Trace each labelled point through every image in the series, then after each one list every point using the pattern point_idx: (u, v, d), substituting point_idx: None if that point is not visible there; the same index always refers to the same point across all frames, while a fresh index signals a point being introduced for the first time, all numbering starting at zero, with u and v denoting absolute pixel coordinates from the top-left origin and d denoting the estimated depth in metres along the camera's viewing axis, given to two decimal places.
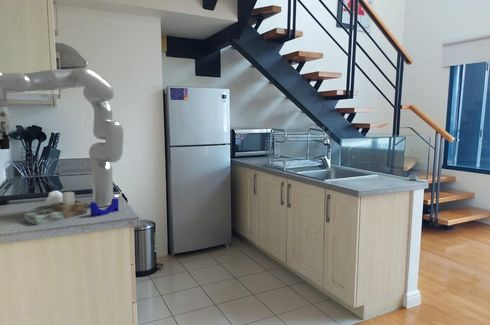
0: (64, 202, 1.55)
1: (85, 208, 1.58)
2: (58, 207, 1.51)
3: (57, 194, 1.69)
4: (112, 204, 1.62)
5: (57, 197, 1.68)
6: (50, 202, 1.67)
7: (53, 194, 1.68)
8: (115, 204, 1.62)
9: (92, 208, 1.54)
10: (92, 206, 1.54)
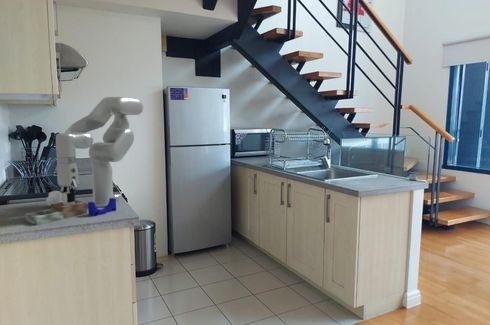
0: (64, 202, 1.55)
1: (85, 208, 1.58)
2: (58, 207, 1.51)
3: (57, 194, 1.69)
4: (109, 203, 1.63)
5: (57, 197, 1.68)
6: (50, 202, 1.67)
7: (53, 194, 1.68)
8: (113, 204, 1.62)
9: (90, 208, 1.55)
10: (90, 206, 1.55)
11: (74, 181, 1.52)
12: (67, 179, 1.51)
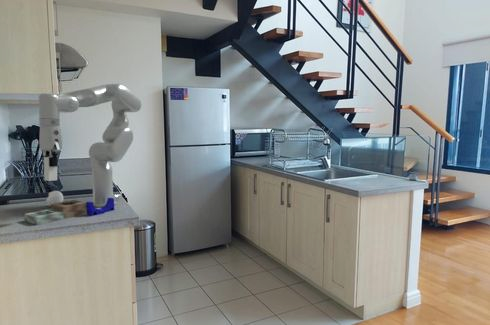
0: (46, 167, 1.47)
1: (85, 208, 1.58)
2: (58, 207, 1.51)
3: (57, 194, 1.69)
4: (108, 203, 1.63)
5: (57, 197, 1.68)
6: (50, 202, 1.67)
7: (53, 194, 1.68)
8: (111, 203, 1.63)
9: (88, 208, 1.55)
10: (88, 205, 1.55)
11: (57, 144, 1.44)
12: (49, 141, 1.43)
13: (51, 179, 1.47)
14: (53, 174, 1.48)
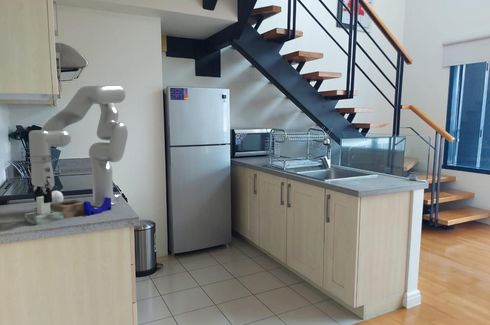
0: (38, 207, 1.45)
1: None
2: (58, 207, 1.51)
3: (57, 194, 1.69)
4: (105, 202, 1.64)
5: (57, 197, 1.68)
6: (50, 202, 1.67)
7: (53, 194, 1.68)
8: (108, 203, 1.64)
9: (86, 207, 1.56)
10: (86, 205, 1.56)
11: (49, 180, 1.42)
12: (41, 179, 1.41)
13: None
14: None
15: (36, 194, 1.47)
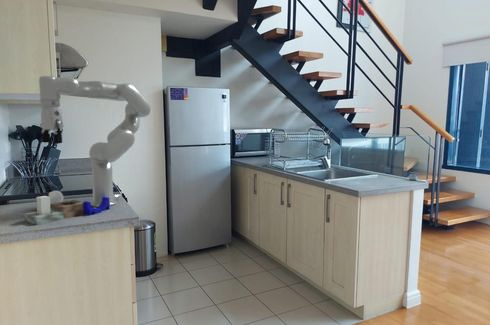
0: (38, 207, 1.45)
1: None
2: (58, 207, 1.51)
3: (57, 194, 1.69)
4: (103, 202, 1.65)
5: (57, 197, 1.68)
6: (50, 202, 1.67)
7: (53, 194, 1.68)
8: (106, 203, 1.65)
9: (86, 207, 1.56)
10: (86, 205, 1.56)
11: (58, 121, 1.52)
12: (50, 122, 1.51)
13: None
14: None
15: (44, 136, 1.57)
